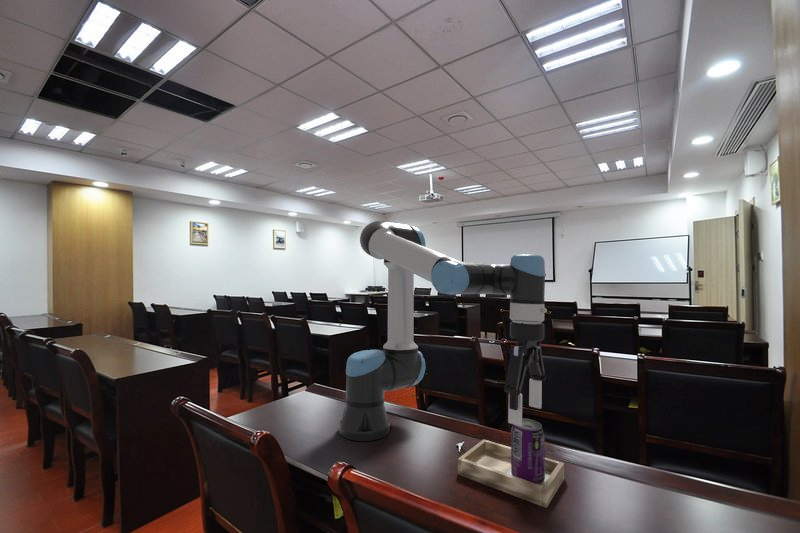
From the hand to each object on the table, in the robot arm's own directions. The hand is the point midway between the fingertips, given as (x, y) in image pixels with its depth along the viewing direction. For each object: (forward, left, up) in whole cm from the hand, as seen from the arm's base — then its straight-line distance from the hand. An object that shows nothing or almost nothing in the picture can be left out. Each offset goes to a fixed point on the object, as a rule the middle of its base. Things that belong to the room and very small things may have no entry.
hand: (525, 415), depth 81 cm
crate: (-4, 0, -15) cm, 15 cm away
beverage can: (+1, -1, -14) cm, 14 cm away
